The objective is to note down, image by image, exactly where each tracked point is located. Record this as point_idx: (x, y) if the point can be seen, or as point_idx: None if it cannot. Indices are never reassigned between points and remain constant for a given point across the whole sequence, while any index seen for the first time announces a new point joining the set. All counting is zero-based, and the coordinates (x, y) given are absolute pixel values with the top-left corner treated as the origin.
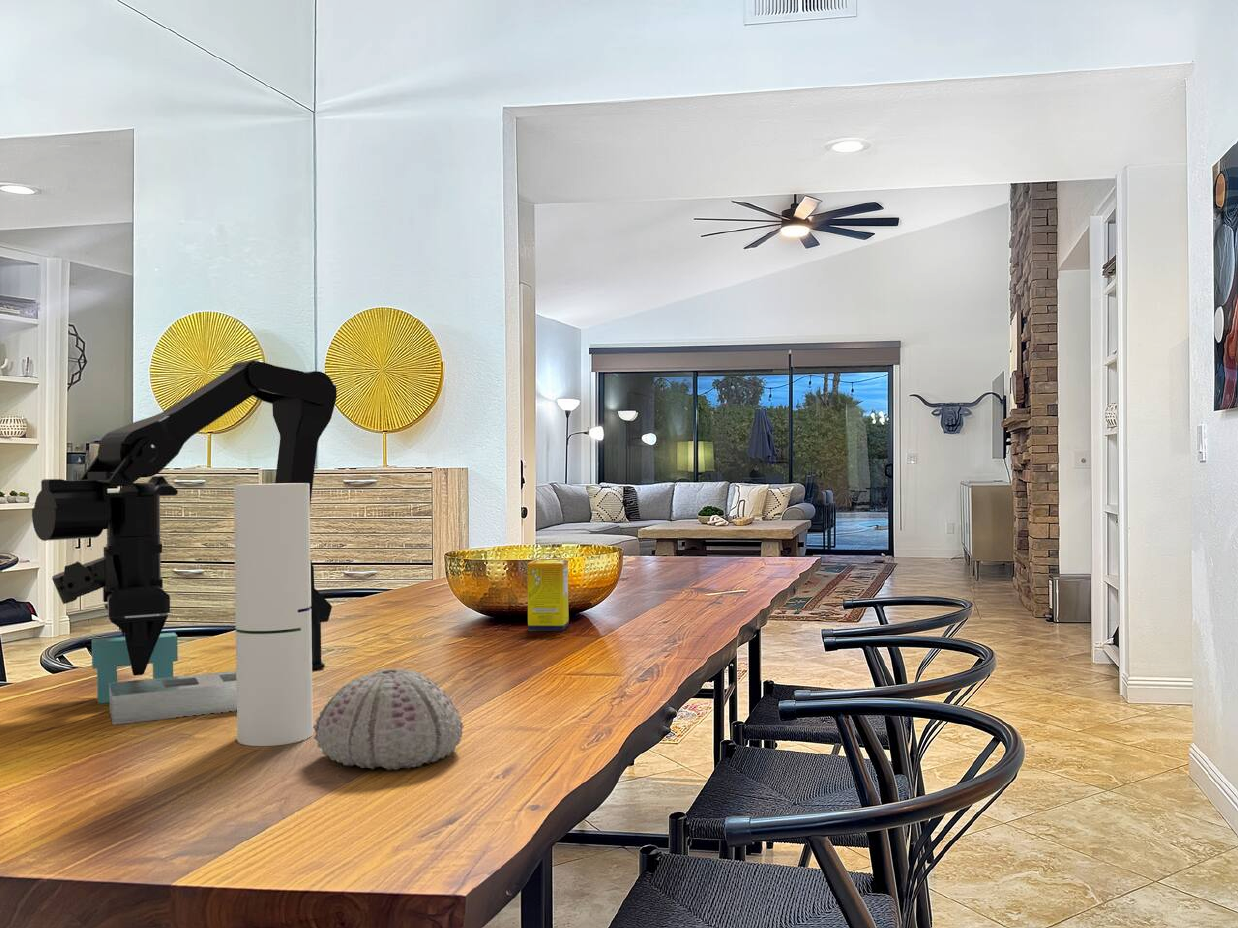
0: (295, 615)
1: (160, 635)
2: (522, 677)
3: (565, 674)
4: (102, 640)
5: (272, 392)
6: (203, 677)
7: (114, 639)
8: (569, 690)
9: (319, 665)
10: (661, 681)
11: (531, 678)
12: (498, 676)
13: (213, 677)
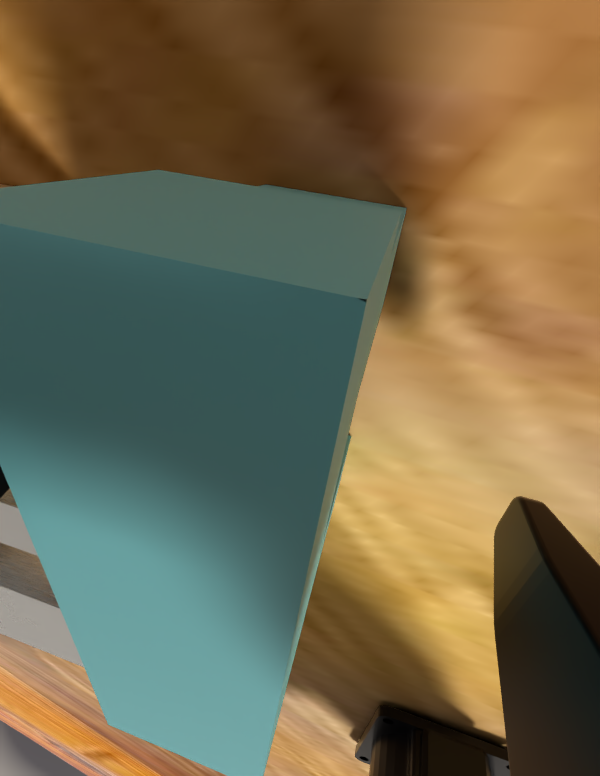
0: None
1: (173, 718)
2: (111, 738)
3: (109, 752)
4: (75, 384)
5: None
6: (12, 520)
7: (104, 501)
8: (22, 705)
9: (356, 752)
10: (41, 741)
11: (101, 736)
12: (129, 738)
13: (8, 534)
